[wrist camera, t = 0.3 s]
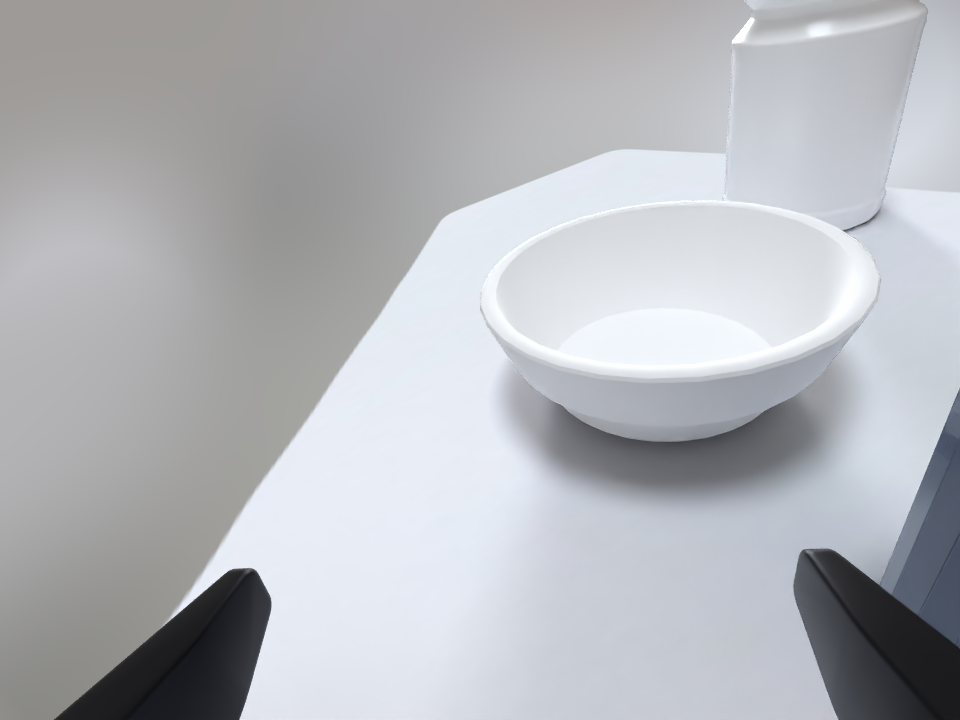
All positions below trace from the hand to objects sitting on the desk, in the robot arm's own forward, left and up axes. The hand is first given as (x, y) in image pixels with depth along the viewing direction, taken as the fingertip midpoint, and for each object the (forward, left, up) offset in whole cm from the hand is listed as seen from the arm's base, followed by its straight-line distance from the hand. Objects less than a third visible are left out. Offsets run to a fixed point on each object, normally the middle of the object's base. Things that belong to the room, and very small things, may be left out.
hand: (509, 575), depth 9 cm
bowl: (+25, -9, -16) cm, 31 cm away
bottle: (+48, -29, -16) cm, 58 cm away
